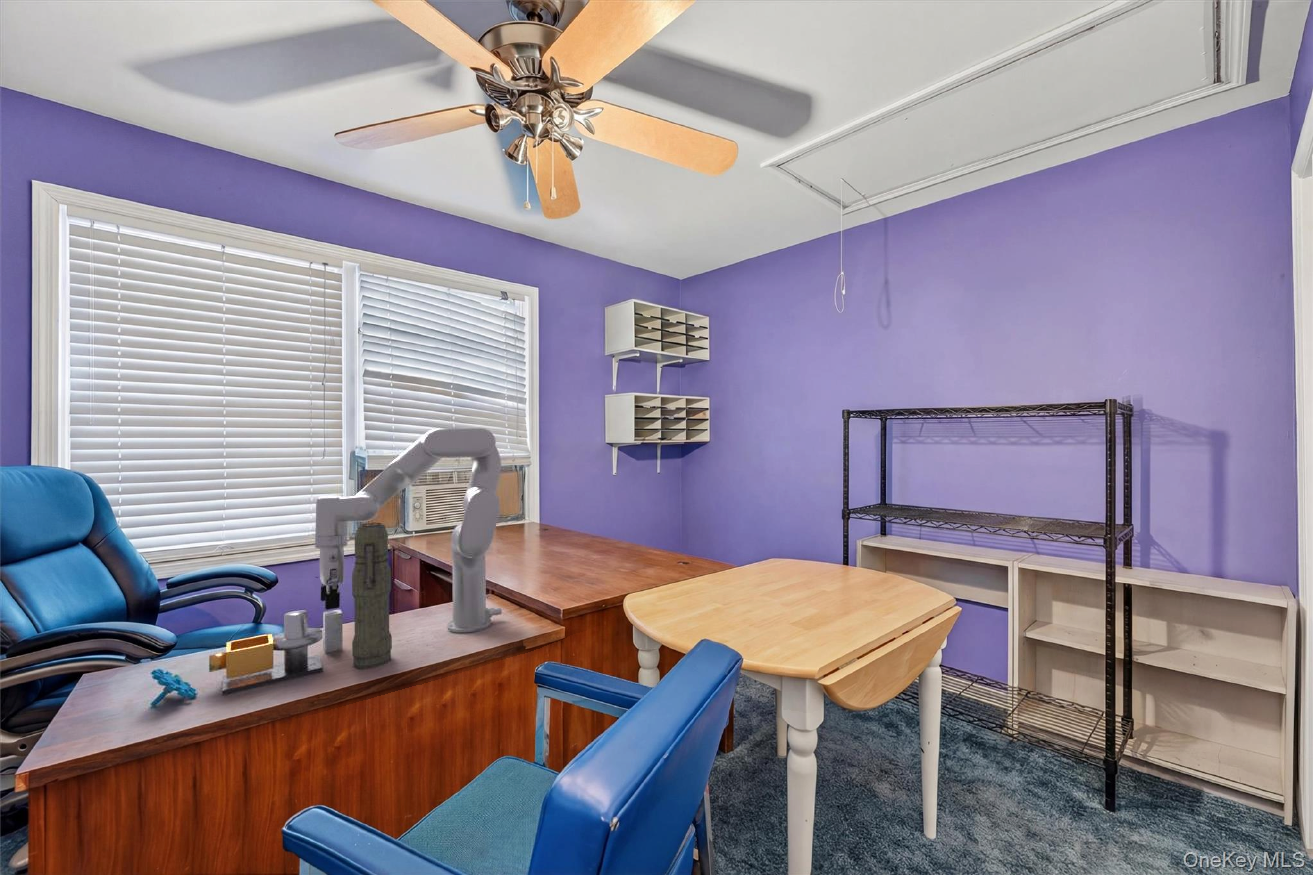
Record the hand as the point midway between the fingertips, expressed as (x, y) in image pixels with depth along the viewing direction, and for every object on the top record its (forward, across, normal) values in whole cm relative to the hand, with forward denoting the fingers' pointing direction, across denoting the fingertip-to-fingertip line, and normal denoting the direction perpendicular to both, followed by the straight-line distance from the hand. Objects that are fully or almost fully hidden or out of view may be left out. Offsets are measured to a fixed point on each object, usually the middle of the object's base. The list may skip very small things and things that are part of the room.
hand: (329, 604), depth 143 cm
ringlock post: (+13, -10, +13) cm, 21 cm away
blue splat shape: (+13, -11, +30) cm, 35 cm away
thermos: (+12, -16, -8) cm, 22 cm away
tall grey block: (+12, 0, -1) cm, 12 cm away
